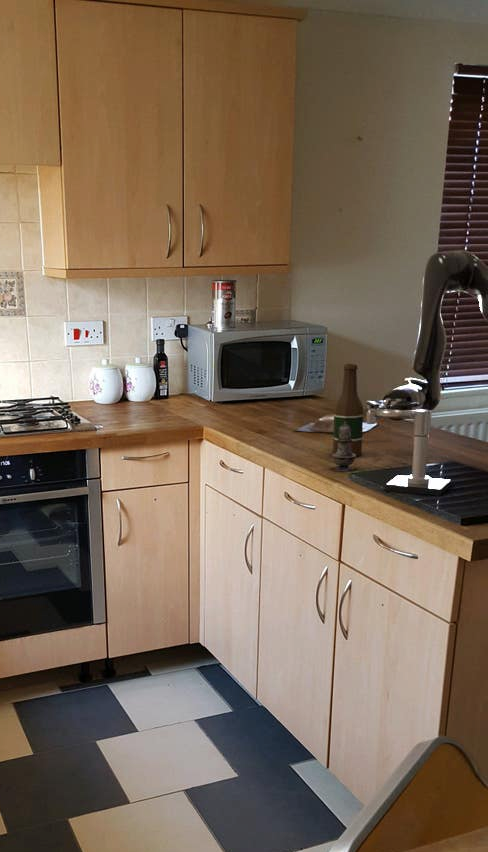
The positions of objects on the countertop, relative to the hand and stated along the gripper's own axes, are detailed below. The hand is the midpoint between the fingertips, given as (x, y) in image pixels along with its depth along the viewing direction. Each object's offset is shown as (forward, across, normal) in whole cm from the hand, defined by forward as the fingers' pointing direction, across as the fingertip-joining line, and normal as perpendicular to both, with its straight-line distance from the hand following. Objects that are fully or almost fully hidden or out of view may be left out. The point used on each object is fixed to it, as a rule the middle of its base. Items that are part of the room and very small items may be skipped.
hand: (381, 412), depth 198 cm
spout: (+1, +4, +4) cm, 6 cm away
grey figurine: (-13, -13, +17) cm, 24 cm away
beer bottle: (-31, -18, +17) cm, 39 cm away
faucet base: (+1, +10, +16) cm, 19 cm away
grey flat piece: (-73, -35, +17) cm, 82 cm away
